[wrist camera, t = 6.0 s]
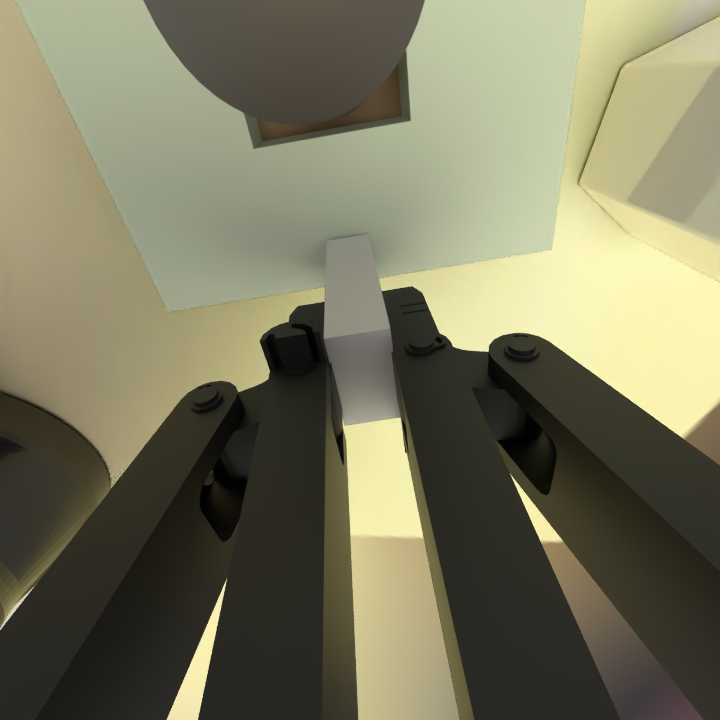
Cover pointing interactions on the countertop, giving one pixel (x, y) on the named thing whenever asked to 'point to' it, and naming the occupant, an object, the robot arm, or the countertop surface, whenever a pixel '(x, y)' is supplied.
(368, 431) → the countertop surface
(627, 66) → the jar
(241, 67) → the post
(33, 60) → the countertop surface
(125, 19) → the square plate with hole
